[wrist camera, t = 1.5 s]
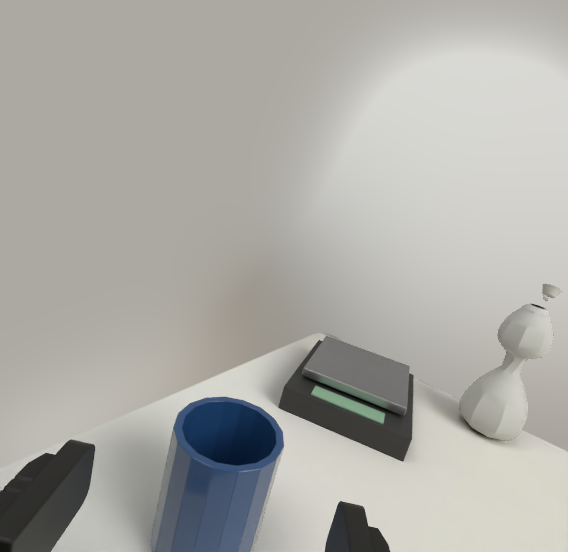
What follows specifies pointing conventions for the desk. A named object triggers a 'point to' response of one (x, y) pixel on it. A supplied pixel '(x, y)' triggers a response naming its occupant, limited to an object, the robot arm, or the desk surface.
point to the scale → (349, 413)
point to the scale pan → (360, 374)
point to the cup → (217, 477)
